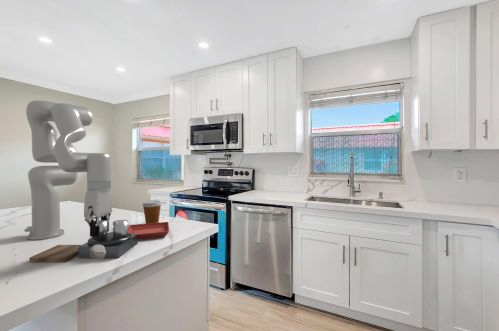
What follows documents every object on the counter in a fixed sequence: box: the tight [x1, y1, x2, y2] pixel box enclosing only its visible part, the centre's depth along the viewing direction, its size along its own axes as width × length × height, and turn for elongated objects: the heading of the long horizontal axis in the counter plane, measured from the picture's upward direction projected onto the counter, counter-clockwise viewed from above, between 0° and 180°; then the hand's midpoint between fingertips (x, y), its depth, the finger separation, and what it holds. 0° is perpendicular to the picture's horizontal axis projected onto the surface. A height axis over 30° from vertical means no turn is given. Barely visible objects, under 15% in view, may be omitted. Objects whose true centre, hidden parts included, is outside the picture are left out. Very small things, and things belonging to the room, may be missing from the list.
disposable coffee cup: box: [142, 200, 162, 224], centre depth 125 cm, size 10×10×12 cm
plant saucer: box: [128, 221, 170, 241], centre depth 108 cm, size 18×18×3 cm
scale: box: [77, 231, 139, 260], centre depth 87 cm, size 14×15×6 cm
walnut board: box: [28, 244, 82, 263], centre depth 84 cm, size 12×12×2 cm
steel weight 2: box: [112, 219, 129, 239], centre depth 88 cm, size 5×5×6 cm
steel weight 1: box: [92, 219, 109, 240], centre depth 88 cm, size 5×5×6 cm
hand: (99, 233), depth 88 cm, fingers closed on steel weight 1, 5 cm apart
